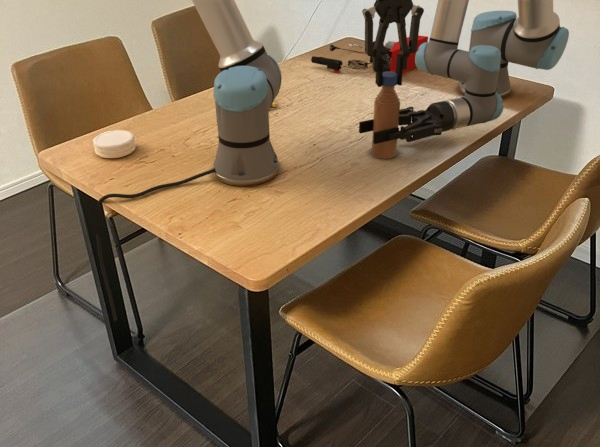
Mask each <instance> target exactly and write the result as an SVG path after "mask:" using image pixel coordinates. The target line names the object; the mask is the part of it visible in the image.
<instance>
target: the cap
mask: <svg viewBox="0 0 600 447" xmlns="http://www.w3.org/2000/svg"><path fill="white" fill-rule="evenodd" d="M397 82H398V74H397V73H396V72H391V71H386V72H383V75H382V86H387V87H392V86H395V87H396V86H398V84H397Z"/></svg>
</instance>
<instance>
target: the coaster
mask: <svg viewBox="0 0 600 447" xmlns="http://www.w3.org/2000/svg"><path fill="white" fill-rule="evenodd" d="M92 144H93V149H94V153H95V154H96V155H97V156H98V157H101V158H103V159H118V158H122V157H125V156H128V155H130V154H132V153H134V151H135V150H136V147H137V145H136V141H135V135H134V134H133V133H132V132H131V131H128V130H123V129H114V130H113V129H112V130H108V131H104V132H102V133H98V134H97V135H96V136H95V137H94V138H93V139H92Z"/></svg>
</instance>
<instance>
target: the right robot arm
mask: <svg viewBox="0 0 600 447" xmlns="http://www.w3.org/2000/svg"><path fill="white" fill-rule="evenodd" d="M469 2H470V0H438V1H437V4H436V9H435V14H434V18H433V22H432V27H431V31H430V36H429V38H428V43H427V42H425V43H423V44H421V45H420V47H419V48H418V51H417V52H416V56H415V64H416V67H415V68H417V69H418V70H419V71H420V72H424V73H427V74H430V75H432V76H436V77H437V76H438V77H442V78H446V79H450V80H453V81H458V84H457V90H458V92H459V93H460V94H461V95H463V96H461V97H454V98H450V99H446V100H442V101H441V100H440V101H436V102H432V103H430V104H429V105H428V107H426V109H425V110H424V109H420V110H414V106H408V107H405V108H400V112H399V125H398V127H396V128H391V129H387V130H382V131H377V132H374V139H373V143H374V144H377V143H382V142H386V141H391V140H395V139H397V140H401V141H402V140H405V141H406V142H407V143H411V142H415V141H419V140H422V139H426V138H429V137H433V136H435V137H436V136H441V135H442V133H444V132H445V133H446V132H448V131H453V130H454V131H456V130H457V129H462V128H465V127H470V126H475V125H479V124H486V123H488V122H492V121H495V120H497V119H498V118H500V117H501V115H502V113H503V111H504V104H503V98H506V97H508V96H509V95H510V94H511V88H512V86H511V81H510V75H509V69H508V68H509V63H511V64H516V65H519V66H523V67H528V68H532V69H536V70H545V71H549V70H552V69H553V68H555V67H556V66H557V64H558V63H559V61H560V60H561V58H562V56H563V54H564V52H565V50H566V48H567V44H568V42H569V37H570V36H569V35H570V31H569V29H568V28H567V27H565V26H561V24H560V22H561V20H560V17H559V15H558V13H557V12H555V11H554V0H517V12H518V14H517V13H516V11H513V10H490V11H484V12H481V13H478V14H477V15H476V16H474V18H473V21H472V25H471V29H470V37H469V38H470V39H469V47H468V50H463V49H460V48H459V43H460V38H461V34H462V30H463V26H464V22H465V19H466V14H467V10H468V6H469ZM373 119H374V118H371V119H367V120H362V121H359V122H358V123H359V124H358V127H359V128H358V133H359V134H364V133H369V132H373ZM399 126H400V127H399Z"/></svg>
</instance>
